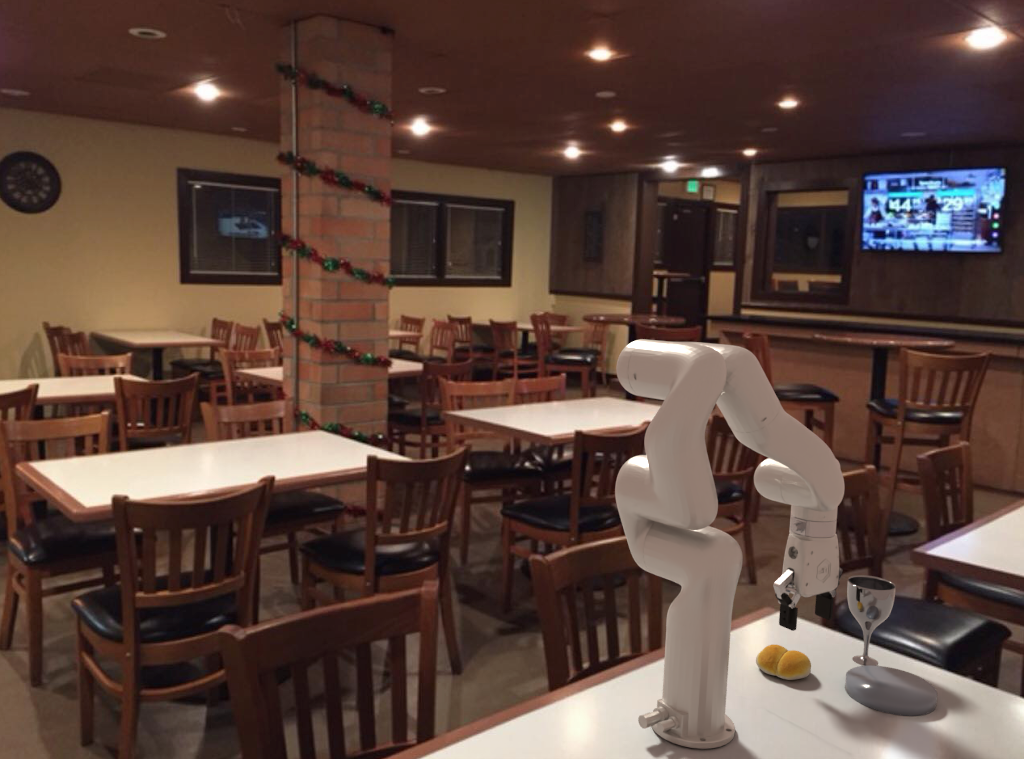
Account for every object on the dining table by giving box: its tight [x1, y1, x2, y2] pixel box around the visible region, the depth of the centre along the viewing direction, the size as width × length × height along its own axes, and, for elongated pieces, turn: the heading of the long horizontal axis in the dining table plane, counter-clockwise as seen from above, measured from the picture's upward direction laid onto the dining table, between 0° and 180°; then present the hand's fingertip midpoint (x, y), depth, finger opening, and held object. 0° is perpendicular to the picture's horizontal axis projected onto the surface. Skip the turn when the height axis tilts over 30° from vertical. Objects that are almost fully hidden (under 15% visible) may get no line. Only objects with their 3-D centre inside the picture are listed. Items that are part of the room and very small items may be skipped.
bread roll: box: [755, 644, 812, 681], centre depth 152 cm, size 8×9×4 cm
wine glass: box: [846, 574, 896, 666], centre depth 157 cm, size 8×8×15 cm
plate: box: [844, 665, 938, 717], centre depth 145 cm, size 14×14×2 cm
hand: (805, 622), depth 152 cm, fingers open, 9 cm apart
